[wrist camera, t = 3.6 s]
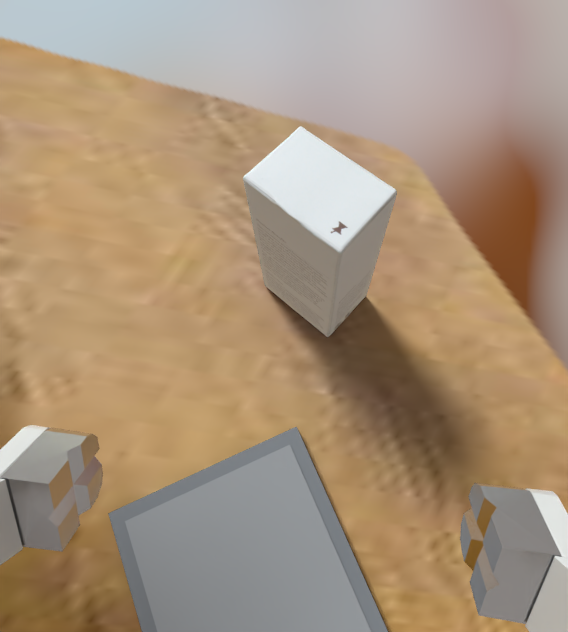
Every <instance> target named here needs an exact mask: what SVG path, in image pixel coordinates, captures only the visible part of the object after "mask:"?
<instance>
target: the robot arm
mask: <svg viewBox="0 0 568 632" xmlns="http://www.w3.org/2000/svg"><path fill="white" fill-rule="evenodd" d="M98 450H99V444H98V438H97V436H95V435H93V434H90V433H83V432H77V431H70V430H64V429H57V428H47V427H41V426H35V425H29V426H26V427H23V428H22V429H21V430H20V431H19V432H18V433H17V434H16V435H15V436H14V437H13V438H12V439H11V440H10V441H9V442H8V443H7V444H6V445H5V446H4V447H3V448H2V449H1V450H0V565H1V564H3V563H4V562H5V561H7V560H8V559H10V558H11V557H12V556H14V555H15V554H17V553H18V552H19V551H21V550H22V549H23V547H30V548H39V549H47V550H55V551H63V550H64V548H65V547H66V545H67V544H68V542H69V541H70V539H71V538H72V536H73V535H74V533H75V532H76V530H77V529H78V527H79V526H80V522H79V516H78V515H80V514H82V513H83V512H85V511H87V510H88V509H90V508H91V507H92V505H93V504H94V502H95V500H96V499H97V497H98V494H99V491H100V488H101V485H102V477H103V471H102V464H101V463H100V462H99V461H98V460H97V459H96V457H95V454H96V453H97V452H98ZM469 500H470V503H471V506H472V508H471V509H469V510H468V511H466V512H465V513H464V515H463V519H462V523H461V536H460V540H461V548H462V553H463V557H464V562H465V563H466V564H467V565H468V566H469V567H470V568H471V569H472V570H473V574H472V577H471V580H470V585H471V588H472V592H473V596H474V599H475V603H476V607H477V611H478V614H479V615H480V616H485V617H491V618H496V619H502V620H507V621H513V622H518V623H524V624H526V625H525V626H526V628H527V629H528V630H529V631H530V632H568V514H567V512H566V510H565V508H564V507H563V505H562V503H561V501H560V499H559V498H558V496H557V495H556V494H555V493H554V492H552V491H545V490H535V489H523V488H515V487H506V486H498V485H490V484H481V483H475V484H474V485H473V486H472V488H471V491H470V494H469Z"/></svg>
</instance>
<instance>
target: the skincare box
mask: <svg viewBox="0 0 568 632" xmlns="http://www.w3.org/2000/svg"><path fill="white" fill-rule="evenodd" d="M243 181H244V186H245V190H246V195H247V200H248V205H249V210H250V215H251V219H252V224H253V229H254V234H255V240H256V244H257V249H258V254H259V259H260V264H261V269H262V274H263V279H264V284H265V286H266V287H267V288H268V289H270V290H271V291H272V292H273V293H274V294H276V295H277V296H278V297H279V298H280V299H282V300H283V301H284V302H285V303H286V304H288V305H289V306H290V307H291V308H292V309H294V310H295V311H296V312H297V313H299V314H300V315H301V316H302V317H303V318H305V319H306V320H307V321H308V322H310V323H311V324H312V325H313V326H314V327H316V328H317V329H318V330H319V331H320V332H322V333H323V334H324V335H325V336H326V337H329V336H330V335H331V334H332V333H333V332H334V331H335V330H336V328H337V327H338V326H339V325H340V324H341V323H342V322H343V321H344V320H345V319H346V318H347V317H348V315H349V314H350V313H351V312H352V311H353V310H354V309H355V308H356V306H357V305H358V304H359V303H360V302H361V301H362V300H363V299H364V298H365V297H366V295H367V292H368V288H369V285H370V282H371V279H372V275H373V272H374V269H375V265H376V262H377V258H378V255H379V252H380V248H381V245H382V242H383V238H384V235H385V232H386V228H387V225H388V222H389V218H390V215H391V211H392V208H393V205H394V202H395V199H396V195H397V191H396V189H394V188H392V187H391V186H389V185H388V184H386V183H385V182H383V181H382V180H380V179H379V178H377V177H376V176H374V175H373V174H372V173H370V172H369V171H367V170H365V169H364V168H362V167H361V166H359V165H358V164H356V163H355V162H353V161H352V160H350V159H349V158H347V157H346V156H344V155H343V154H341V153H340V152H338V151H337V150H335V149H334V148H332V147H331V146H329V145H328V144H326V143H325V142H323V141H322V140H320V139H319V138H317V137H316V136H314V135H313V134H311V133H310V132H308V131H307V130H306V129H304V128H303V127H301V126H300V127H299V128H298V129H297V130H296V131H294V132H293V133H292V134H291V135H290V136H289V137H288V138H287V139H286V140H285V141H284V142H282V143H281V144H280V145H279V146H278V147H277V148H276V149H274V150H273V151H272V152H271V153H270V154H269V155H268V156H267V157H265V158H264V159H263V160H262V161H261V162H260V163H259V164H258V165H256V166H255V167H254V168H253V169H252V170H251V171H250V172H248V173H247V174H246V175H245V176H244V177H243Z"/></svg>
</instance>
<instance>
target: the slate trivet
mask: <svg viewBox="0 0 568 632" xmlns="http://www.w3.org/2000/svg"><path fill="white" fill-rule="evenodd" d="M108 514H109V517H110V521H111V524H112V528H113V531H114V535H115V538H116V542H117V545H118V549H119V552H120V556H121V559H122V563H123V566H124V570H125V574H126V577H127V581H128V584H129V588H130V591H131V595H132V598H133V602H134V605H135V609H136V612H137V616H138V619H139V623H140V626H141V630H142V632H388V631H387V628H386V626H385V624H384V622H383V619H382V617H381V615H380V613H379V610H378V608H377V606H376V604H375V601H374V599H373V597H372V595H371V592H370V590H369V588H368V586H367V584H366V581H365V579H364V577H363V575H362V572H361V570H360V568H359V566H358V563H357V561H356V559H355V557H354V554H353V552H352V550H351V548H350V545H349V543H348V541H347V539H346V536H345V534H344V532H343V530H342V527H341V525H340V523H339V521H338V519H337V516H336V514H335V512H334V510H333V507H332V505H331V503H330V501H329V498H328V496H327V494H326V492H325V489H324V487H323V485H322V483H321V480H320V478H319V476H318V474H317V471H316V469H315V467H314V465H313V462H312V460H311V458H310V456H309V454H308V451H307V449H306V447H305V445H304V442H303V440H302V438H301V436H300V433H299V431H298V429H297V427H295V428H292V429H290V430H288V431H286V432H284V433H282V434H279V435H277V436H275V437H273V438H271V439H269V440H266V441H264V442H262V443H260V444H258V445H256V446H253V447H251V448H249V449H247V450H245V451H243V452H240V453H238V454H236V455H234V456H232V457H230V458H227V459H225V460H223V461H221V462H219V463H217V464H214V465H212V466H210V467H208V468H206V469H204V470H201V471H199V472H197V473H195V474H193V475H191V476H188V477H186V478H184V479H182V480H180V481H178V482H175V483H173V484H171V485H169V486H167V487H165V488H162V489H160V490H158V491H156V492H154V493H152V494H150V495H147V496H145V497H143V498H141V499H139V500H137V501H134V502H132V503H130V504H128V505H126V506H124V507H121V508H119V509H117V510H115V511H113V512H111V513H108Z"/></svg>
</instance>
